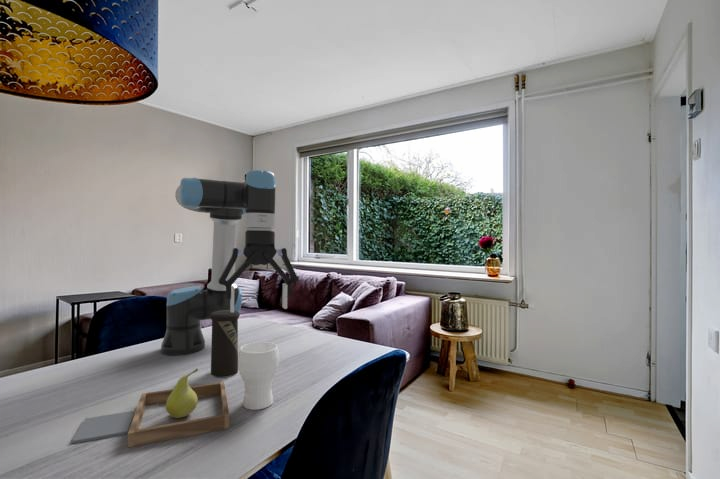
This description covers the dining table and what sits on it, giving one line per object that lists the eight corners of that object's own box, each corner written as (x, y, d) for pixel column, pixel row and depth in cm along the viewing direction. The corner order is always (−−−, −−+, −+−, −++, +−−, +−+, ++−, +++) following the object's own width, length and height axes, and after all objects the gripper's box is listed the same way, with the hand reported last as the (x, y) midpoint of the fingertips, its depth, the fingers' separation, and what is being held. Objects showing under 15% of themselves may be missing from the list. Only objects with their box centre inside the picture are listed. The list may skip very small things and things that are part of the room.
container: (229, 379, 110) (230, 314, 110) (203, 376, 112) (204, 312, 112) (244, 368, 119) (244, 309, 118) (219, 366, 120) (220, 307, 120)
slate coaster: (85, 420, 85) (85, 418, 85) (134, 412, 89) (134, 410, 89) (71, 443, 76) (71, 441, 76) (127, 433, 80) (127, 431, 80)
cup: (247, 417, 88) (248, 356, 88) (230, 401, 96) (231, 346, 95) (285, 404, 95) (286, 348, 95) (267, 390, 103) (268, 338, 102)
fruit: (175, 408, 91) (176, 362, 91) (204, 409, 91) (204, 363, 91) (160, 422, 85) (160, 372, 84) (191, 423, 84) (191, 373, 84)
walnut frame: (141, 404, 93) (142, 393, 93) (223, 392, 101) (224, 381, 101) (127, 447, 75) (127, 433, 75) (229, 428, 83) (229, 415, 83)
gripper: (209, 228, 86) (208, 316, 86) (309, 230, 96) (308, 309, 97) (208, 228, 93) (208, 310, 93) (302, 230, 103) (301, 303, 103)
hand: (259, 309), depth 95 cm, fingers open, 13 cm apart
